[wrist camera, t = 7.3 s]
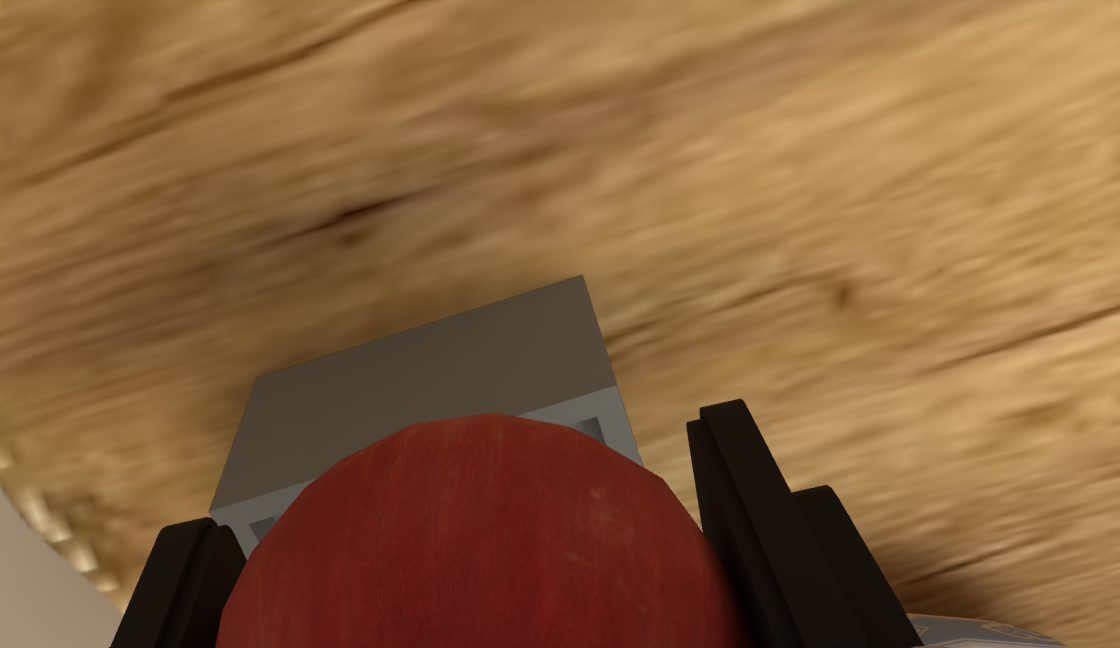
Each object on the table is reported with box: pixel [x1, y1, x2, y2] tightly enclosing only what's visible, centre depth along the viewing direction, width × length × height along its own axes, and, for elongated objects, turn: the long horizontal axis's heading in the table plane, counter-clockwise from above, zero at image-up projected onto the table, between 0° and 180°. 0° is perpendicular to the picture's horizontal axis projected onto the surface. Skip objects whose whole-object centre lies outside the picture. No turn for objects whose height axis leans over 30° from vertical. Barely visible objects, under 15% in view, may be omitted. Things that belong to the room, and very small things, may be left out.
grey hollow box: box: [209, 275, 643, 560], centre depth 31 cm, size 12×12×8 cm
